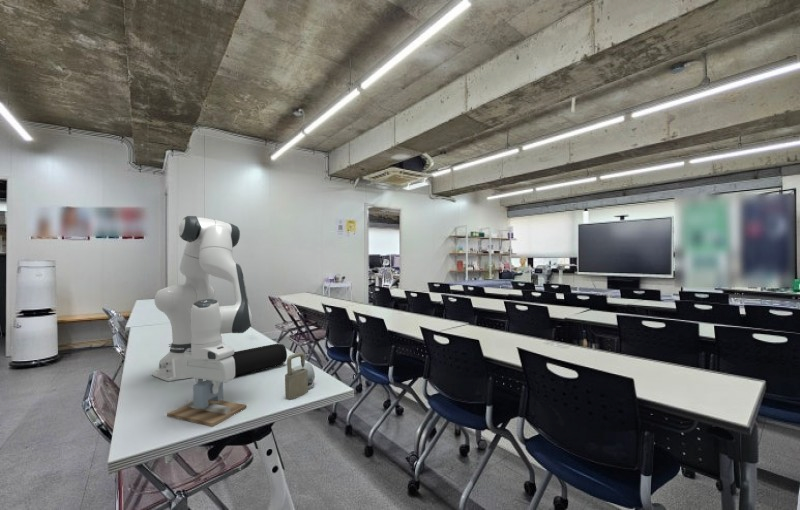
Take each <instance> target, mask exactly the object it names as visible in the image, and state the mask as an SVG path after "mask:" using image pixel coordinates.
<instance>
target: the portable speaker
mask: <svg viewBox="0 0 800 510" xmlns="http://www.w3.org/2000/svg"><path fill="white" fill-rule="evenodd" d="M231 356H233V358H234V360H235V377H238V376H242V375H246V374H250V372H251V373H254V371H255V372H258V370H259V371H263V370H267V369H271V368H275V367H279V366H281V365H282V364H284V363H286V362H287V359H288V352H287V348H286V346H285V344H282V343H273V344H268V345H262V346H257V347H252V348H248V349H247V348H246V349H242V350H238V351H234V354H233V355H231ZM266 368H267V369H266ZM262 369H263V370H262Z"/></svg>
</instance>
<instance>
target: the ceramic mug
mask: <svg viewBox="0 0 800 510" xmlns="http://www.w3.org/2000/svg"><path fill="white" fill-rule="evenodd" d="M303 368H304V369H308V384H309V385H308V390H310V388H311V389H312V388H313V387H314V384H315V377H316V376H315V370H314V367H313V365H312V364H311V363H310V362H305V364H304V367H303ZM298 369H302V365H301V364H300V365H296V366H294V367H292V371H295V370H298ZM310 384H311V385H310Z"/></svg>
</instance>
